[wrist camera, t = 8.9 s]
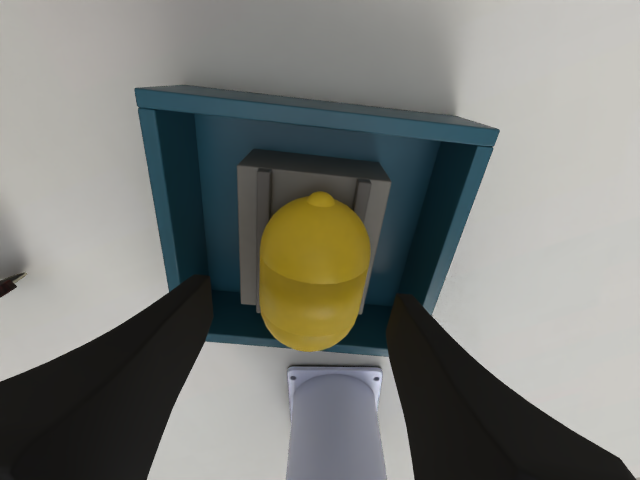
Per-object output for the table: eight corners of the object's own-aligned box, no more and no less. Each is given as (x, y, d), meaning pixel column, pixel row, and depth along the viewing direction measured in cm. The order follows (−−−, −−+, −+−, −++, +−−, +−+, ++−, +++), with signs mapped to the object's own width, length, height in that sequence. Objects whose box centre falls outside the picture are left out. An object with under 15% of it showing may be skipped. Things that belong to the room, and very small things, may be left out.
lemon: (340, 307, 18) (361, 376, 14) (259, 308, 17) (257, 383, 13) (363, 176, 14) (401, 220, 10) (261, 171, 13) (258, 215, 9)
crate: (399, 308, 22) (415, 359, 18) (204, 290, 22) (176, 339, 18) (456, 116, 16) (501, 129, 12) (183, 84, 16) (133, 87, 11)
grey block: (356, 279, 20) (363, 322, 17) (253, 269, 20) (237, 311, 17) (379, 162, 17) (395, 185, 13) (252, 148, 16) (232, 168, 13)
